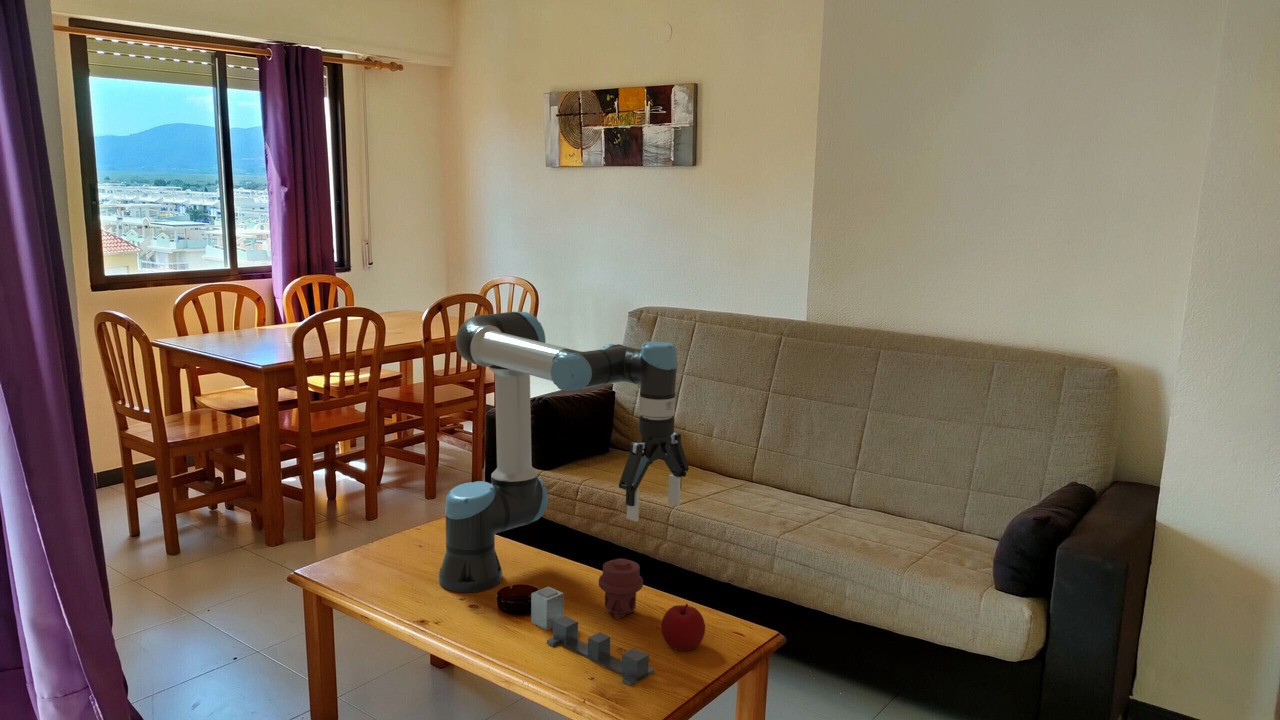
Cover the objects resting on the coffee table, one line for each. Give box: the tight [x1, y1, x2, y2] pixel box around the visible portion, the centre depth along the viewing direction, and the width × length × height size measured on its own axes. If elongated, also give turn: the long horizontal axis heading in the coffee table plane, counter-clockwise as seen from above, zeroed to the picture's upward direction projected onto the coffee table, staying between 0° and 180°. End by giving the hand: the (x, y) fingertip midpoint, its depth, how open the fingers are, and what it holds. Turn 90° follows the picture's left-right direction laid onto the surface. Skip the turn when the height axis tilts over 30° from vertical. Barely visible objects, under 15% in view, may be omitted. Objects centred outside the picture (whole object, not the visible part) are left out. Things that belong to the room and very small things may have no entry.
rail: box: [546, 615, 655, 687], centre depth 185 cm, size 24×7×4 cm, turn 48°
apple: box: [660, 603, 706, 652], centre depth 190 cm, size 9×9×10 cm
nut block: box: [530, 586, 565, 631], centre depth 199 cm, size 5×5×7 cm
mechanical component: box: [598, 558, 644, 620], centre depth 205 cm, size 12×10×10 cm
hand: (653, 512), depth 194 cm, fingers open, 13 cm apart
